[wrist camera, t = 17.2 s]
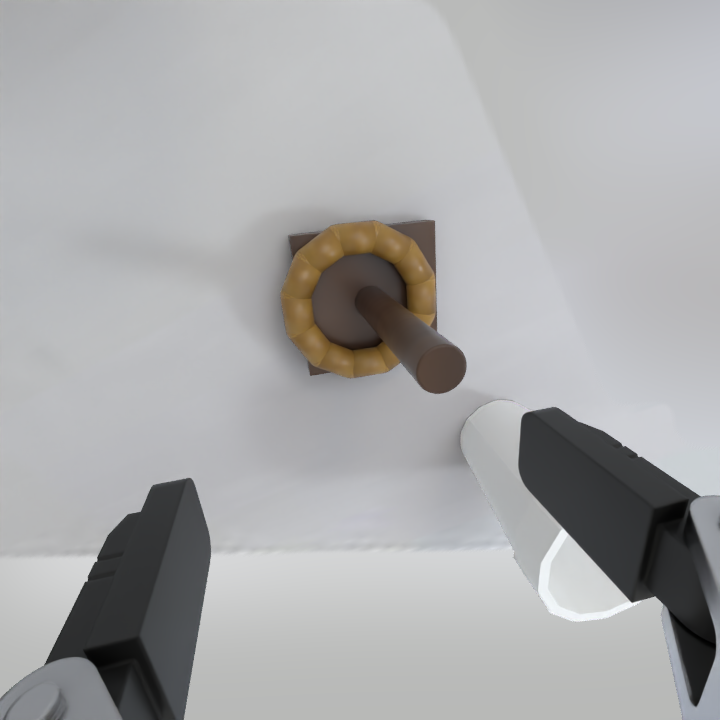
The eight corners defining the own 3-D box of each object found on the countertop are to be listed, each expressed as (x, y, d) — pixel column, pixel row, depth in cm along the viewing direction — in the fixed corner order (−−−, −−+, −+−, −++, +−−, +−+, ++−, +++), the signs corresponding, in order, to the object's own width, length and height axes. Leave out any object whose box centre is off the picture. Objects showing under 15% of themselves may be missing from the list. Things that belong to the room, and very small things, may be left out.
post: (308, 367, 28) (336, 492, 16) (288, 234, 25) (303, 261, 13) (430, 348, 30) (543, 449, 17) (426, 219, 26) (563, 230, 14)
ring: (294, 381, 27) (295, 392, 25) (269, 230, 23) (269, 232, 22) (431, 358, 28) (441, 368, 27) (427, 213, 25) (438, 214, 23)
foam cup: (514, 489, 36) (632, 627, 24) (424, 470, 33) (508, 615, 22) (564, 397, 34) (724, 500, 22) (472, 368, 31) (598, 469, 19)
